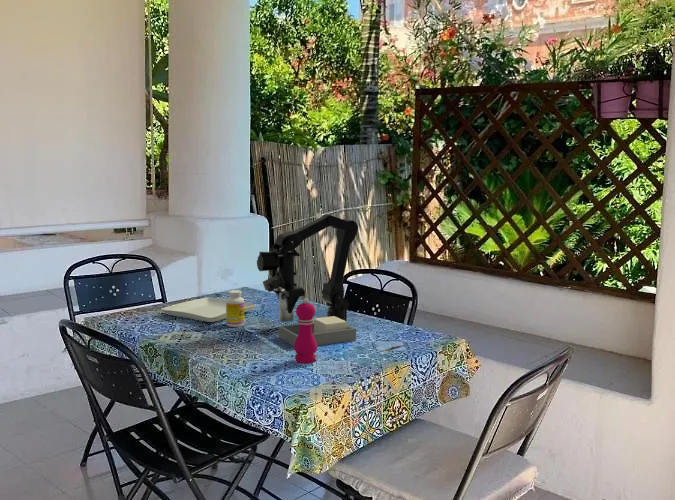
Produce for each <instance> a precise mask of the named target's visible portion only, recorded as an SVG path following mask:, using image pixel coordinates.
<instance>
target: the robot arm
mask: <svg viewBox="0 0 675 500" xmlns="http://www.w3.org/2000/svg"><path fill="white" fill-rule="evenodd" d="M330 227H331V228H333V229H336V230H335V237H336V240H337V244H336V249H335V255H334V258H333V264H332V268H331V273H330V278H329V281H327V283H326V282H323V284H322V289H321V290H322V291H321V292H320V294H321V295H322V296H321V297H322V299H323V301H324V302H325V304H326V306H327V307H328V308H327V309H328V311H327V313H326V314H327V315H326V317H331V316H335V317H337V318H340V319H342V320H344V321H346V322H347V321H348V317H347V316H348V310H349V307H350V305H351V303H350V302H349V301H348V300H347V299H346V298H345V287H344V283H343V281H344V277H345V272H346V268H347V263H348V258H349V253H350V247H351V244H352V243H353V241H355V239H356V237H357V234H358V231H359V225H358V224H357V222H356V221H355V220H352V219H347V218H339V217H337V216H335V215H333V214H329V213H326V214H325V213H324V214H323V215H322V216H320V217H319V218H316V219H314V220H313V221H311V222H308V223H306V224H305V225H303V226H301V227H299V228H297V229H295V230H294V229H293V230H290V231H286V232H282V233H280V234H278V235H277V236H276V239H275V243H274V244H273V246H272V247H271V248H270V250H269V251H259V255H258V256H257V260H256V265H257V269H258V271H259V272H266V271H267V272H268V271H269V272H270V271H276V272H275V275H274V276H271V277H269V278H267V279H265V280H263V281H262V283H263V287H264V290H265V291H267V292H269V293H271V292H273V293H274V294H276V296H277V298H278V299H279V292H282V291H285V295H283V296H284V297H285V298H286V301H287V309H288V313H292V311H293V308H295V306H296V304H297V302H298V300H299V299H300V297H304V296H306V290H305V289H304V288H303V287H301V286H297V283H296V282H295V276H297V271H295V257H300V256H301V254H300V253H299V252H298V251H297V248H298V247H299V246H301V244H302V243H303V241H305V240H306V239H309V238H310V237H311V236H314V235H315V234H319V233H320V232H322V231H323V230H325V229H327V228H330ZM277 269H278V270H277Z"/></svg>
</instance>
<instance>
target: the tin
mask: <svg viewBox="0 0 675 500" xmlns="http://www.w3.org/2000/svg"><path fill="white" fill-rule="evenodd" d="M283 295H285V291H282V292H279V298H278V304H279V305H278V306H279V307H278V309H279V310H278V311H279V313H278V315H279V318H278V319H279V321H280V322H292V321H294V319H295V309H294V308H295V307H294V308H293V311H292V313H288V309H287V301H286V298H285V297H284V296H283Z"/></svg>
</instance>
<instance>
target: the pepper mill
mask: <svg viewBox="0 0 675 500" xmlns="http://www.w3.org/2000/svg"><path fill="white" fill-rule="evenodd" d="M295 314H296V316H297V324H299V334H298V336H297V339H296V341H295V344H294V346H293V350H294V351H295V352H296V354H295V362H296V363H298V364H305V365H306V364H307V365H308V364H312V363H315V362H316V358H317V357H316V354H315V353H316V351H317V350H318V346H317V343H316V340H315V338H314V336H313V333H312V324H313V323H314V319H315V318H314V316H315V314H316V307H315V306H314V305H313V304H312V303H309V299H308V298H306V297H304V298H303V299H302V303H300V304H298V305H297V307H296V309H295Z"/></svg>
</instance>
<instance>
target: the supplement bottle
mask: <svg viewBox="0 0 675 500" xmlns="http://www.w3.org/2000/svg"><path fill="white" fill-rule="evenodd" d="M228 296H229V297H227V298H226V299H227V300H226V319H225V320H226V321H225V322H226V326H227V327H229V328H231V327H232V328H239V327H240V328H241V327H242V326H244V325H245V312H244V302H245V299H244V298H243V297H242V291H241V290H237V289H235V290H233V289H232V290H229V291H228Z"/></svg>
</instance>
